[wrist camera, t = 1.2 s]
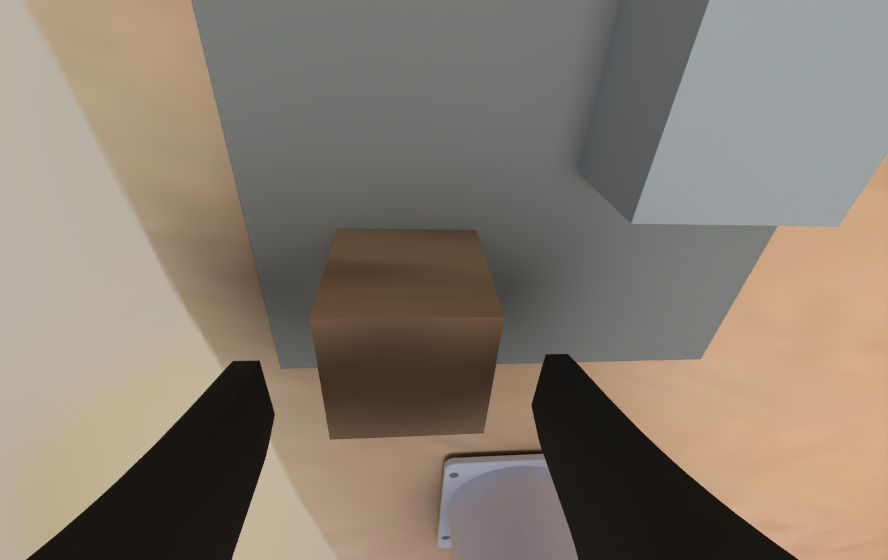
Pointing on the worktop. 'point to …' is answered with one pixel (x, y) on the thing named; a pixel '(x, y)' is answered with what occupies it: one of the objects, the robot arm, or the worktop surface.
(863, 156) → the base block
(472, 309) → the walnut block
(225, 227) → the worktop surface
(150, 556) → the robot arm
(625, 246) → the mat
